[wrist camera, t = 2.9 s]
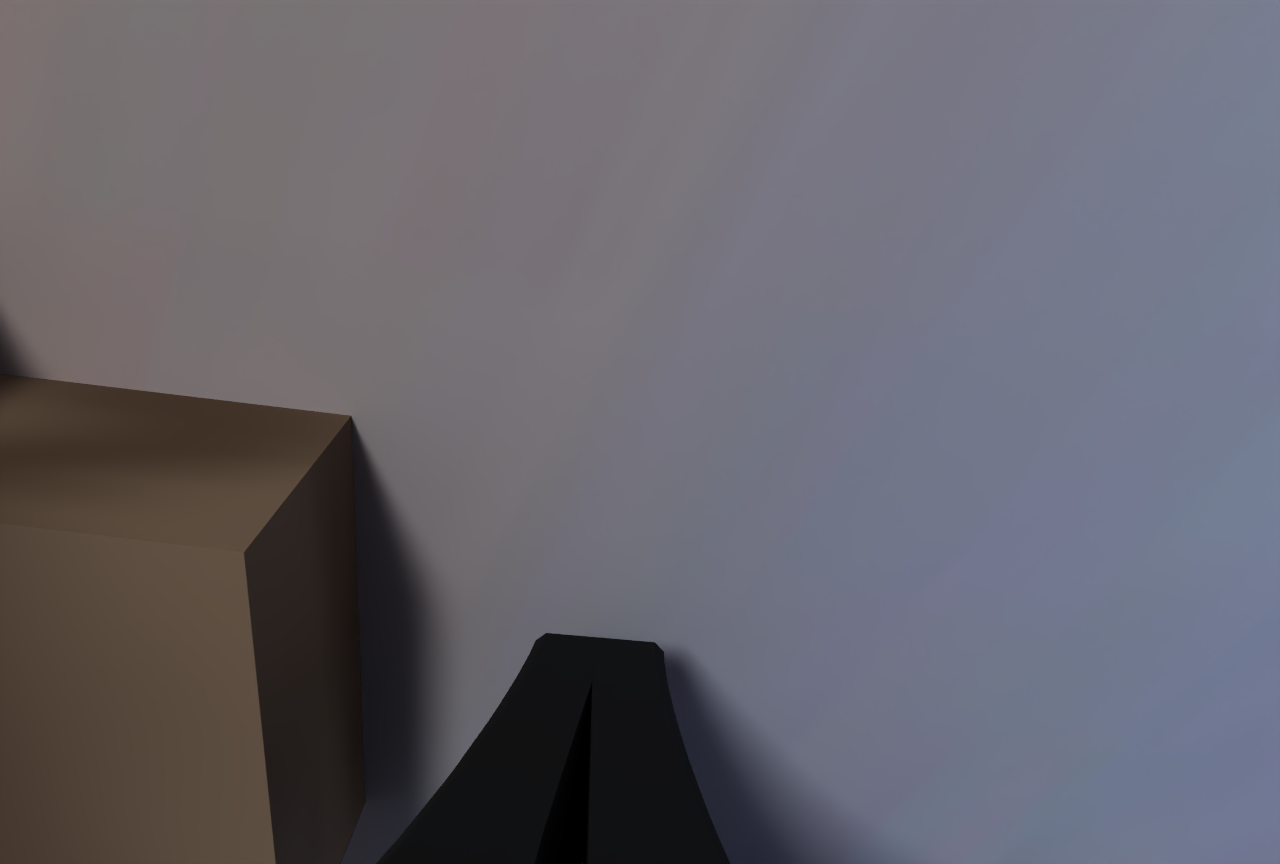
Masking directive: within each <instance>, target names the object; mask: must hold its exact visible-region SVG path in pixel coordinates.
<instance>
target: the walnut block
mask: <svg viewBox="0 0 1280 864" xmlns="http://www.w3.org/2000/svg"><path fill="white" fill-rule="evenodd" d="M364 804H365V779H364V752H363V725H362V698H361V670H360V643H359V616H358V589H357V562H356V535H355V508H354V481H353V453H352V426H351V416H348V415H339V414H331V413H323V412H314V411H306V410H298V409H289V408H281V407H273V406H264V405H256V404H248V403H239V402H231V401H223V400H214V399H206V398H197V397H189V396H181V395H172V394H164V393H156V392H147V391H139V390H131V389H122V388H114V387H106V386H97V385H89V384H81V383H72V382H64V381H55V380H47V379H39V378H30V377H22V376H14V375H5V374H0V864H341V861H342V859H343V856H344V854H345V851H346V849H347V846H348V844H349V841H350V839H351V836H352V834H353V831H354V829H355V826H356V824H357V821H358V819H359V816H360V814H361V811H362V809H363V806H364Z"/></svg>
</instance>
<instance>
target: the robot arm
mask: <svg viewBox="0 0 1280 864" xmlns="http://www.w3.org/2000/svg"><path fill="white" fill-rule="evenodd" d="M377 864H730V862H729V860H728V858H727V855H726V853H725V851H724V849H723V846H722V844H721V842H720V840H719V837H718V835H717V833H716V830H715V828H714V825H713V823H712V820H711V818H710V815H709V813H708V810H707V808H706V805H705V803H704V800H703V797H702V795H701V792H700V789H699V786H698V784H697V781H696V778H695V775H694V773H693V770H692V767H691V764H690V762H689V759H688V756H687V753H686V750H685V747H684V744H683V740H682V737H681V734H680V731H679V727H678V723H677V720H676V716H675V713H674V709H673V705H672V701H671V697H670V693H669V688H668V683H667V677H666V671H665V664H664V652H663V651H662V650H661V648H660V647H659V646H658V645H657V644H656V643H655V642H643V641H632V640H620V639H609V638H597V637H586V636H574V635H562V634H551V633H546V634H544V635H543V636H542V637H540V638H539V639H537V640H536V641H535V643H534V646H533V648H532V650H531V652H530V654H529V656H528V658H527V660H526V661H525V663H524V665H523V667H522V669H521V670H520V672H519V674H518V676H517V677H516V679H515V681H514V682H513V684H512V686H511V687H510V689H509V690H508V692H507V694H506V695H505V697H504V698H503V700H502V701H501V703H500V704H499V706H498V708H497V709H496V711H495V712H494V714H493V715H492V717H491V718H490V720H489V721H488V723H487V724H486V725H485V727H484V728H483V730H482V731H481V732H480V734H479V735H478V737H477V738H476V739H475V741H474V742H473V744H472V745H471V746H470V748H469V749H468V751H467V752H466V753H465V755H464V756H463V758H462V759H461V760H460V762H459V763H458V765H457V766H456V767H455V769H454V770H453V771H452V773H451V774H450V775H449V777H448V778H447V779H446V781H445V782H444V783H443V784H442V786H441V787H440V788H439V789H438V790H437V792H436V793H435V794H434V795H433V797H432V798H431V799H430V800H429V802H428V803H427V804H426V805H425V807H424V808H423V809H422V810H421V811H420V813H419V814H418V815H417V816H416V818H415V819H414V820H413V821H412V823H411V824H410V825H409V826H408V828H407V829H406V830H405V831H404V832H403V834H402V835H401V836H400V837H399V838H398V840H397V841H396V842H395V843H394V844H393V845H392V846H391V848H390V849H389V850H388V851H387V852H386V853H385V854H384V856H383V857H382V858H381V859H380V860H379V861H378V862H377Z"/></svg>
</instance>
